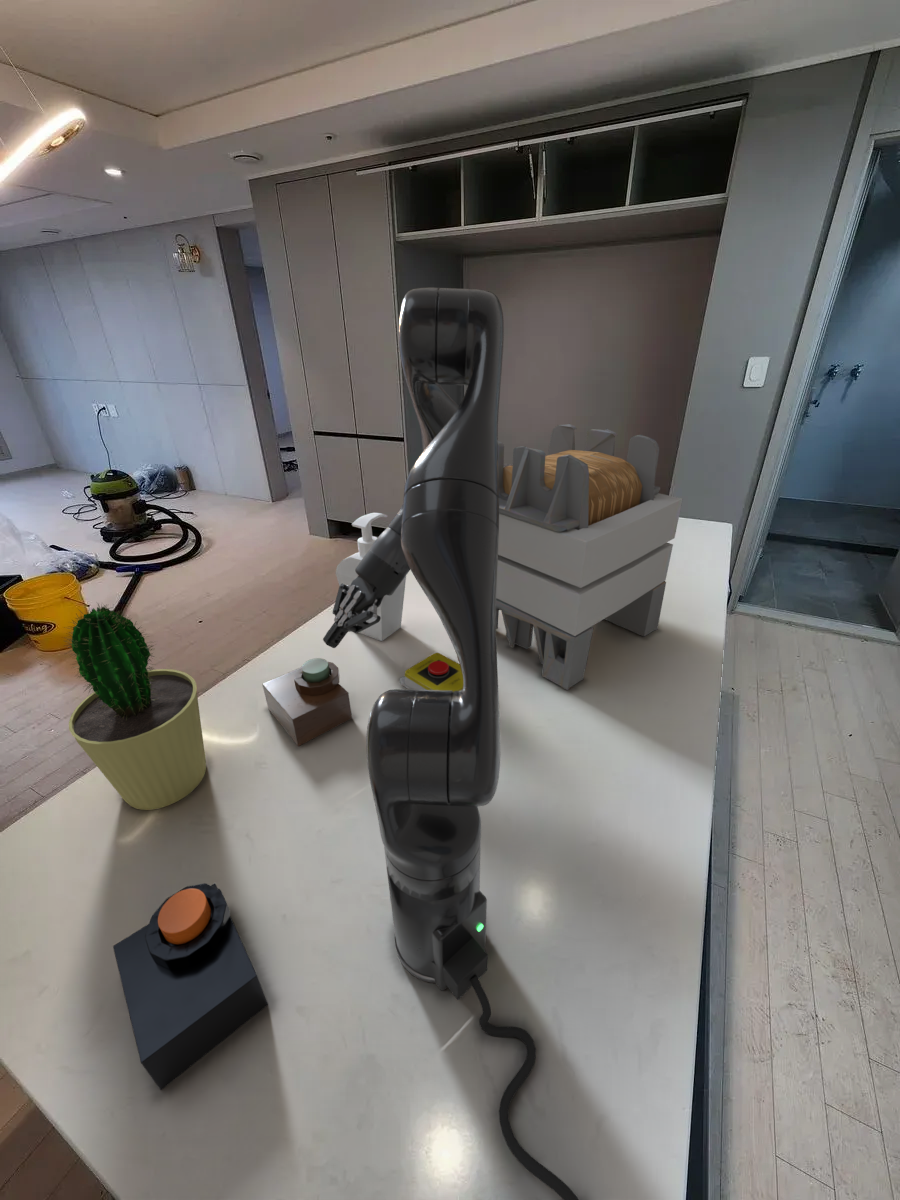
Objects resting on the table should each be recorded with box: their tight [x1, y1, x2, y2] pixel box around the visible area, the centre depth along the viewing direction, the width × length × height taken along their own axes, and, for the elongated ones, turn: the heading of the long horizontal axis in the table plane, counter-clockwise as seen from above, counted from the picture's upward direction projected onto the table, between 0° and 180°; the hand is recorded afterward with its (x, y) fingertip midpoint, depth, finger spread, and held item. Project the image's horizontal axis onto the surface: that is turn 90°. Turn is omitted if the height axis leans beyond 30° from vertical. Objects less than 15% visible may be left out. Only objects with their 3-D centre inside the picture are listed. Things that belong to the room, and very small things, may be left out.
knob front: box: [158, 888, 211, 945], centre depth 51 cm, size 4×4×2 cm
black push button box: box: [112, 882, 269, 1091], centre depth 50 cm, size 12×10×8 cm
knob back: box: [301, 657, 330, 683], centre depth 86 cm, size 4×4×2 cm
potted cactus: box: [60, 602, 207, 811], centre depth 69 cm, size 15×15×30 cm
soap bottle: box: [335, 512, 407, 642], centre depth 107 cm, size 12×10×26 cm
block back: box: [262, 661, 353, 747], centre depth 87 cm, size 12×11×8 cm
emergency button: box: [399, 652, 463, 692], centre depth 93 cm, size 9×4×15 cm
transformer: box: [496, 423, 684, 691], centre depth 103 cm, size 34×33×41 cm
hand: (328, 644), depth 85 cm, fingers closed
